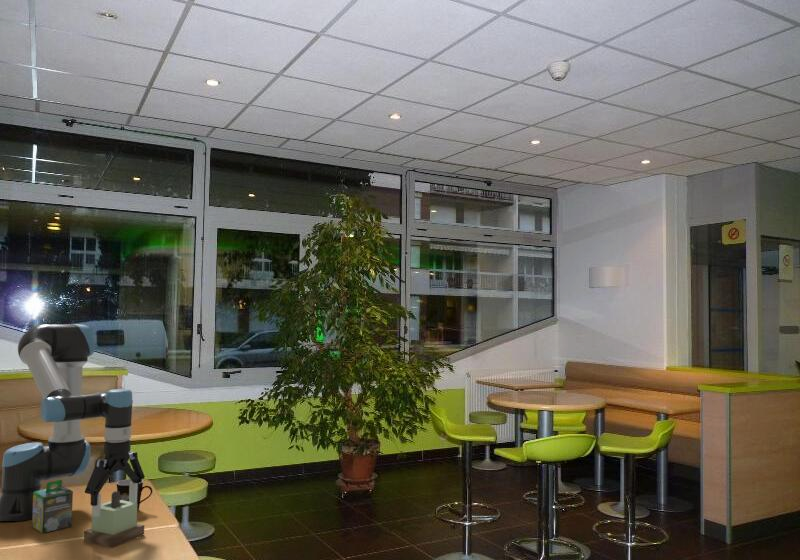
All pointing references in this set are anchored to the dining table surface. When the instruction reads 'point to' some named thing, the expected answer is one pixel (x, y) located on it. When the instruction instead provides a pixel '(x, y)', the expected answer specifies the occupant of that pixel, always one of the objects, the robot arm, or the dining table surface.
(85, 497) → the dining table surface
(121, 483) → the coffee mug
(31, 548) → the dining table surface
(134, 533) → the rod stand
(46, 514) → the chalk box
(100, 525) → the green square socket block
